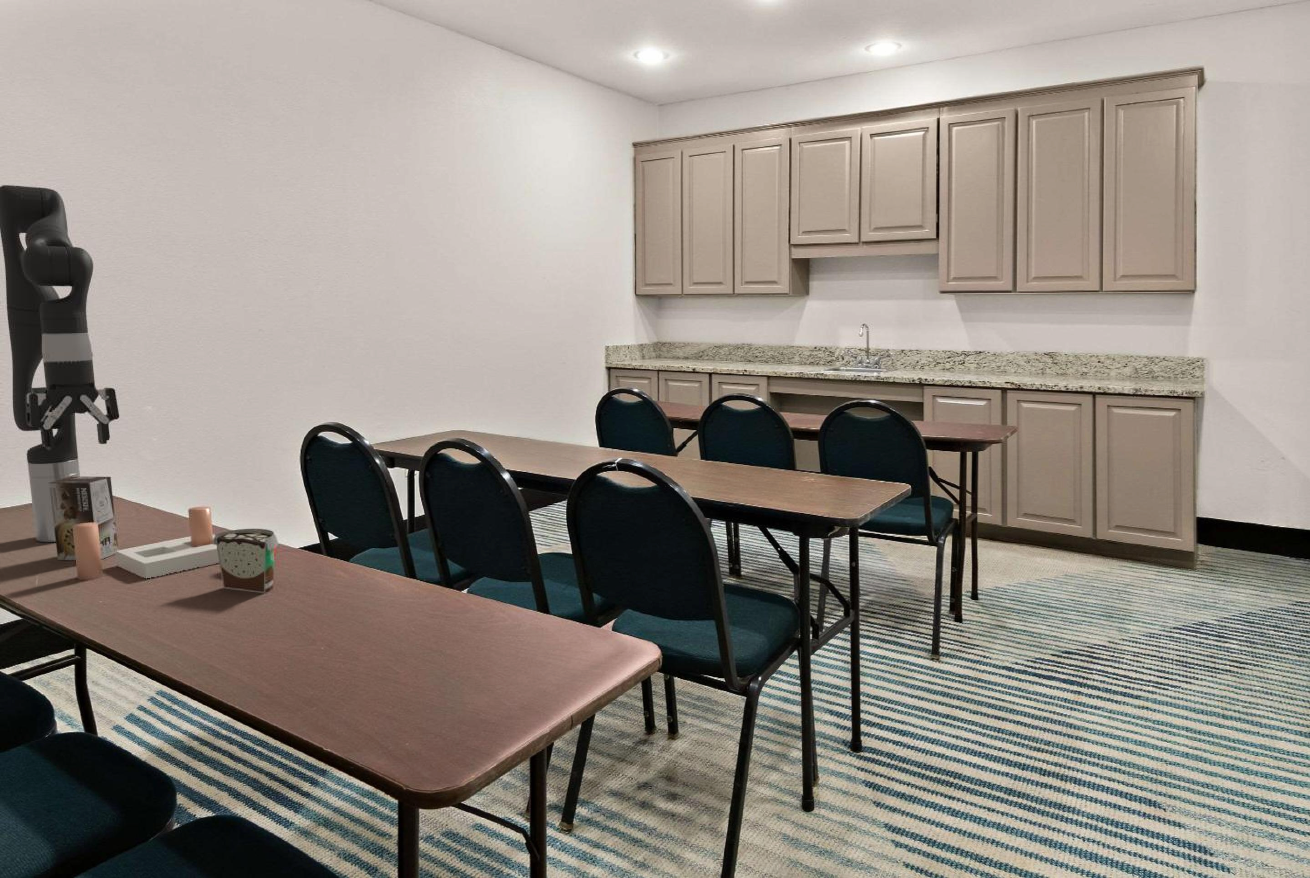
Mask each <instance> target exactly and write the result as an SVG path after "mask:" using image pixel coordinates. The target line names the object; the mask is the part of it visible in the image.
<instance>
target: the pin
mask: <svg viewBox="0 0 1310 878" xmlns="http://www.w3.org/2000/svg"><path fill="white" fill-rule="evenodd" d="M72 527H73V537H74V546H75V556H76V560H75V561H76V562H75V563H76V574H77V580H79V581H91V580H95V579H98V578H102V577H103V576H104V572H103V562H102V559H101V551H100V541H99V531H98V523H82V524H77V525H74V526H72Z"/></svg>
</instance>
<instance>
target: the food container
mask: <svg viewBox="0 0 1310 878" xmlns="http://www.w3.org/2000/svg"><path fill="white" fill-rule="evenodd" d="M214 535H215V537H214V545H216V546H217V552H218V558H219V563H218V565H219V569H220V575H221V576H220V577H221V580H222V581H221V582H222V587H223V589H228V590H235V591H242V592H243V591H244V592H250V593H251V592H252V593H258V594H266V593H269V592H270V591H272V590H273V589H274V572H275V571H274V569H275V567H274V566H275V557H274V548H275V547H276V546H277V547H278V545H279V542H278V538H277V535H276V534H275V531H273V530H271V529H267V528H266V529H265V528H242V529H241V528H240V529H232V530H226V531H221V532H218V533H214Z"/></svg>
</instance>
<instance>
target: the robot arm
mask: <svg viewBox="0 0 1310 878" xmlns="http://www.w3.org/2000/svg"><path fill="white" fill-rule="evenodd" d="M68 232H69V231H68V220H67V214H66V208H65V204H64V200H63V198H62V196H61V195H60V194H59V192H58V191H56V190H54V189H51V188H47V187H37V186H23V185H12V184H11V185H9V184H8V185H7V184H5V185H4V184H3V185H1V186H0V238H1V239H0V240H1V245H2V246H1V247H2V251H3V252H2V253H3V260H4V271H5V290H6V291H5V294H6V296H5V297H6V298H5V299H6V300H5V301H6V313H7V315H6V316H7V323H8V326H7V327H8V331H9V333H8V334H9V341H10V350H11V351H10V352H11V361H12V412H13V418H14V423H15V426H16V427H17V428H18V429H19V430H20V431H22V432H32V431H33V432H35V431H38V432H39V431H40V436H41V437H40V439H41V443H40V444H37V445H35V446H32V447H30V448H28V450H27V451H26V461H27V469H28V476H29V478H28V479H29V485H30V486H29V487H30V494H31V502H32V503H31V505H32V514H33V521H34V531H35V539H36V541H38V542H44V543H49V542H56V539H55V531H54V523H53V515H52V507H51V499H50V491H49V484H48V483H50V482H54V481H57V480H60V479H63V478H67V477H81V473H80V464H79V463H80V462H79V453H78V443H77V433H76V414H81V415H82V414H83V415H84V414H86V413H87V414H89V415H90V416H91V417H92V418H94V420H95V421H97V423H96V431H97V441H98V444H100V445H107V442H108V441H109V440H110V437H111V436H110V423H111V422H112V421H115V420H119V419H120V411H119V406H118V405H119V404H118V399H117V395H116V394H117V393H116V390H115V389H114V387H113V388H112V387H104V388H102V389H97V387H96V384H95V383H96V382H95V373H94V363H93V362H94V361H93V356H94V354H93V351H92V345H91V341H90V336H89V328H88V327H89V326H88V319H87V317H88V316H87V303H88V302H87V301H88V294H89V289H90V285H91V281H92V277H93V272H94V261H93V259H92V256H91V255H90V254H89V252H87V250H86V249H84V248H82V247H78V246H74V245H73V243H72V242H71V239H70V237H69V233H68ZM21 234H25V237H24V241H25V245H26V248H24V246H23V244H22V240H21V238H20V235H21ZM55 287H71V290H70V292H69V294H68V295H67V296H65V297H62V298H60V296H59V294H58V293H57V291H56V289H55ZM41 362H42V363H43V364H42V365H43V371H44V381H45V382H44V383H45V386H44V387H43V386H42V387H33V381H34V377H35V374H36V371H37V369H38V367H39V365H40V363H41ZM98 397H100V398H101V400H103V401H104V403H105V410H106V411H105V412H106V414H105V413H103V412H102V410H101V409H100V408H99V407H98V406H97V405H96V404H95V402H96V400H97V399H98ZM54 430H56V433H55V435H54Z"/></svg>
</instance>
